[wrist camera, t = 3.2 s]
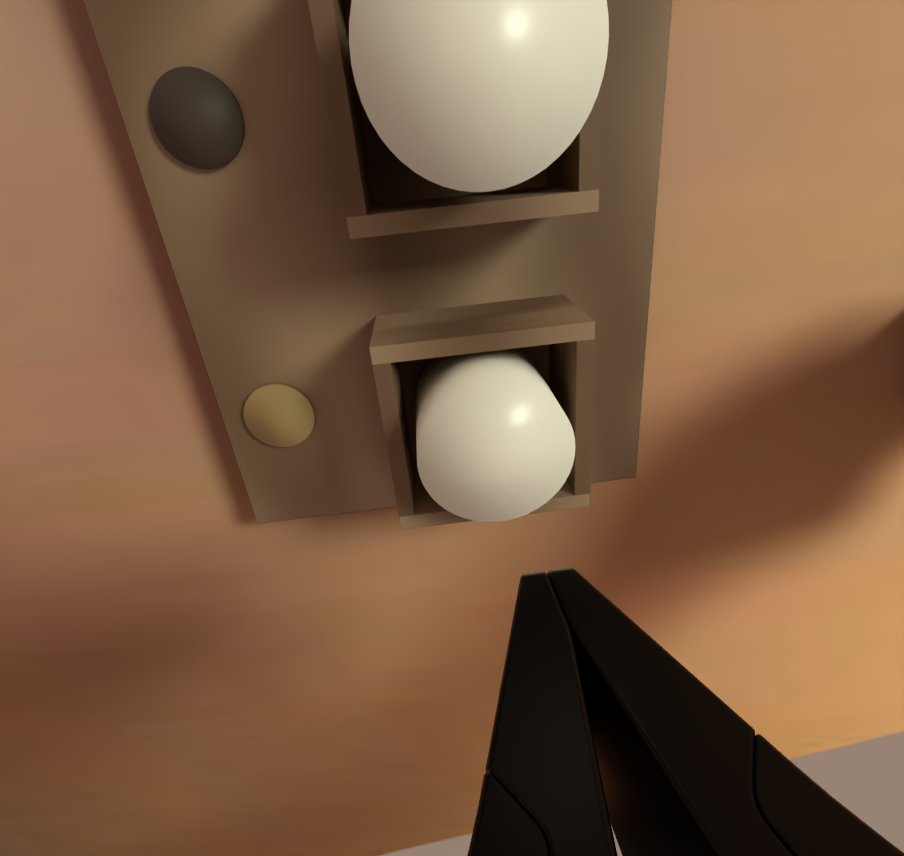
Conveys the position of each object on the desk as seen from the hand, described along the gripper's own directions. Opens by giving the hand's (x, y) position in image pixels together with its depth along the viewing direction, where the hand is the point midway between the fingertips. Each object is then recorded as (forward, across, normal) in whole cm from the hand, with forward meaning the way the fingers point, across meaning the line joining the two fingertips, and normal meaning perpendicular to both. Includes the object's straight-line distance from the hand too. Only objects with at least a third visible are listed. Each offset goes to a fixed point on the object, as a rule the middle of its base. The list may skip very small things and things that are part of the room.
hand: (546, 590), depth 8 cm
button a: (+10, 0, +1) cm, 10 cm away
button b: (+9, 0, -8) cm, 12 cm away
